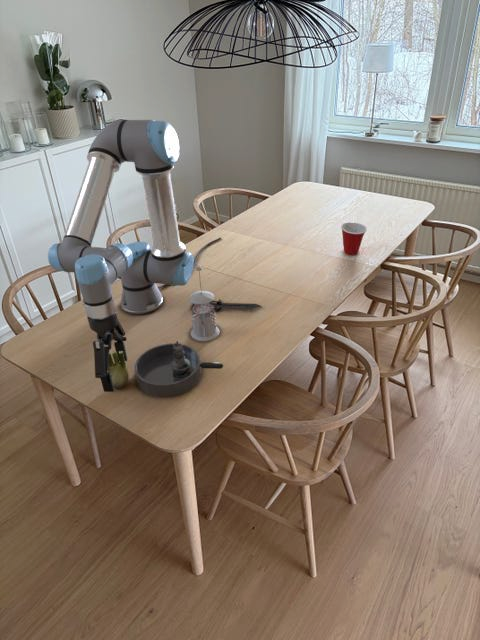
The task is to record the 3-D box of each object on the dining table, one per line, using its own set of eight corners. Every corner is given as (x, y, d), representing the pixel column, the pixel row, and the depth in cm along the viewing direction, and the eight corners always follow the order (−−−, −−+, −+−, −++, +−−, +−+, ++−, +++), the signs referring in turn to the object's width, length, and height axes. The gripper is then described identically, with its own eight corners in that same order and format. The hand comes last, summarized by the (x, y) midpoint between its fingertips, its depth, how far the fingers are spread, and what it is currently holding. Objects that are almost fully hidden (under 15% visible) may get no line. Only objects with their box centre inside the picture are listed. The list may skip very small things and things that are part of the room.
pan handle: (199, 369, 138) (199, 364, 137) (200, 365, 139) (200, 360, 138) (223, 369, 137) (222, 365, 136) (223, 366, 139) (223, 361, 138)
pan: (145, 354, 150) (143, 343, 147) (205, 355, 148) (204, 343, 146) (129, 396, 134) (126, 384, 131) (196, 397, 132) (195, 385, 130)
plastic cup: (359, 260, 197) (362, 233, 191) (334, 255, 202) (336, 228, 196) (367, 250, 205) (371, 224, 198) (344, 245, 210) (346, 220, 203)
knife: (262, 306, 171) (262, 302, 170) (259, 315, 166) (259, 312, 165) (196, 300, 176) (195, 297, 175) (191, 309, 170) (190, 306, 170)
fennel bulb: (131, 381, 139) (124, 348, 132) (124, 392, 135) (116, 359, 129) (113, 378, 140) (105, 346, 134) (106, 389, 136) (97, 357, 130)
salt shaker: (174, 366, 143) (169, 334, 136) (193, 367, 142) (189, 335, 136) (169, 379, 138) (164, 346, 131) (189, 380, 137) (185, 347, 131)
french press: (220, 323, 162) (215, 258, 148) (218, 344, 153) (213, 276, 139) (191, 324, 163) (184, 259, 149) (188, 344, 153) (180, 277, 139)
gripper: (102, 289, 134) (115, 348, 146) (70, 340, 114) (89, 405, 125) (128, 289, 134) (139, 348, 146) (100, 340, 113) (116, 405, 125)
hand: (116, 375), depth 135 cm, fingers open, 13 cm apart
